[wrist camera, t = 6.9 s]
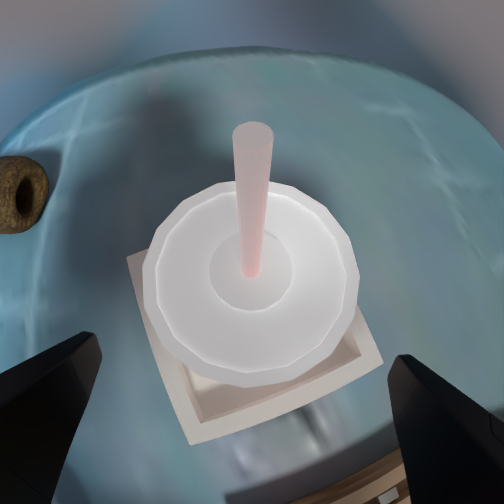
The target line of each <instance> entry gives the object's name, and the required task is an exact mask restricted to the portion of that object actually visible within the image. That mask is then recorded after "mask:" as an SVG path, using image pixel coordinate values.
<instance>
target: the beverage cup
mask: <svg viewBox="0 0 504 504" xmlns="http://www.w3.org/2000/svg"><path fill="white" fill-rule="evenodd" d="M272 147H273V132H272V130H271V129H270V128H269V127H268V126H267V125H265V124H263V123H260V122H245V123H243V124H240V125H239V126H238V127H236V128H235V129H234V132H233V151H234V166H235V181H231V182H223V183H217V184H215V185H213V186H211V187H209V188H207V189H205V190H203V191H201V192H199V193H197V194H195V195H193V196H191V197H189V198H187V199H185V200H183V201H182V202H181V203H180V204H179V205H178V206H177V207H176V209H175V210H174V211H173V212H172V213H171V214H170V215H169V216H168V217H167V218H166V219H165V220H164V221H163V223H162V224H161V225H160V226H159V227H158V228H157V229H156V232H155V234H154V237H153V240H152V242H151V245H150V247H149V250H148V253H147V255H146V258H145V261H144V263H143V266H142V269H143V298H144V309H145V311H146V313H147V315H148V317H149V319H150V321H151V323H152V325H153V327H154V329H155V331H156V333H157V335H158V337H159V339H160V341H161V343H162V345H163V347H164V348H166V349H167V350H168V351H169V352H170V353H171V354H173V355H174V356H175V357H176V358H177V359H179V360H180V361H181V362H182V363H183V364H185V365H186V366H187V367H188V368H190V369H191V370H192V371H193V372H195V373H196V374H197V375H198V376H201V377H205V378H208V379H212V380H215V381H219V382H223V383H226V384H230V385H234V386H238V387H242V388H250V387H257V386H263V385H270V384H276V383H281V382H287V381H292V380H294V379H295V378H297V377H299V376H300V375H302V374H303V373H305V372H306V371H308V370H309V369H311V368H312V367H314V366H315V365H317V364H318V363H320V362H321V361H323V360H324V359H326V358H327V357H328V356H330V355H331V354H332V352H333V351H334V349H335V348H336V346H337V345H338V343H339V341H340V340H341V338H342V337H343V335H344V333H345V332H346V330H347V329H348V327H349V325H350V324H351V322H352V320H353V319H354V315H355V309H356V302H357V295H358V287H359V279H360V275H359V271H358V267H357V264H356V260H355V256H354V253H353V249H352V246H351V242H350V239H349V237H348V236H347V234H346V233H345V232H344V230H343V229H342V228H341V226H340V225H339V224H338V222H337V221H336V220H335V218H334V217H333V216H332V215H331V213H330V212H329V211H328V209H327V208H326V207H325V206H323V205H322V204H320V203H319V202H317V201H315V200H314V199H312V198H311V197H309V196H307V195H306V194H304V193H303V192H301V191H299V190H298V189H296V188H294V187H292V186H288V185H284V184H279V183H274V182H270V181H269V177H270V167H271V157H272Z"/></svg>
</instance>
